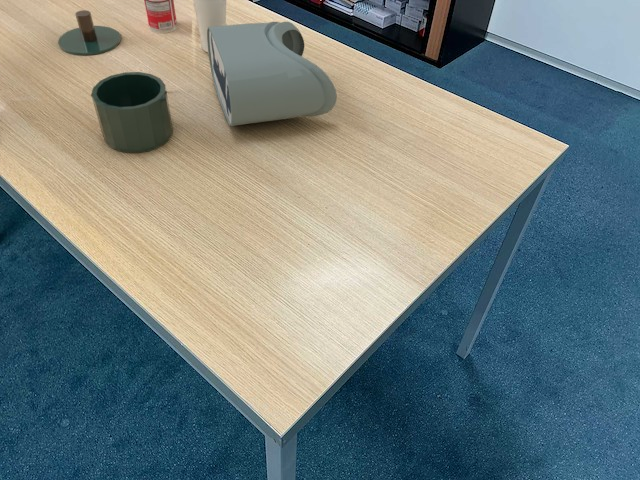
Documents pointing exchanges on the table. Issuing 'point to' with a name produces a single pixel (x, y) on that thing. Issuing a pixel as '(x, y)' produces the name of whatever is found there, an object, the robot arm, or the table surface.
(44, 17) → the table surface
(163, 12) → the pill bottle
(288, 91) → the gray curved housing
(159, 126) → the pot
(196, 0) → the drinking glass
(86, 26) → the lid
